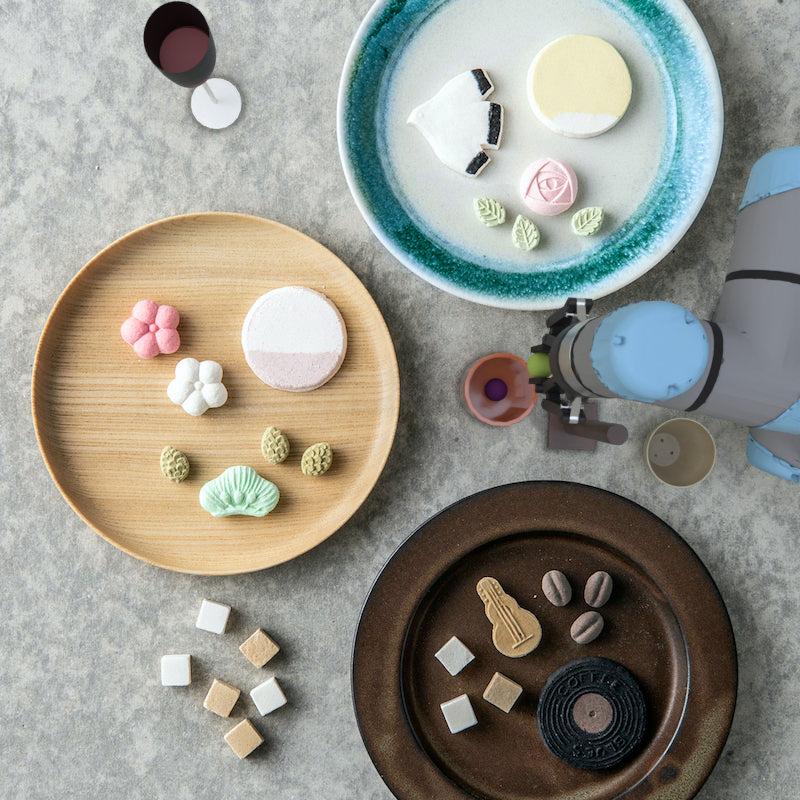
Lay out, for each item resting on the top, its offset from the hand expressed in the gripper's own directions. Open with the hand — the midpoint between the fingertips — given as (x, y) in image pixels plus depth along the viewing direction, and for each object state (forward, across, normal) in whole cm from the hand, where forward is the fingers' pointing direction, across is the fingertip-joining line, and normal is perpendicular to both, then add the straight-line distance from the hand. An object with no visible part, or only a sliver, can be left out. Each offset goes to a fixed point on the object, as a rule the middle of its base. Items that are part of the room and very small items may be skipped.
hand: (540, 366), depth 91 cm
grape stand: (+17, -8, -9) cm, 21 cm away
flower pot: (+17, -11, -23) cm, 31 cm away
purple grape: (+15, -3, +3) cm, 16 cm away
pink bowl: (+17, -3, +3) cm, 18 cm away
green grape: (-1, 0, 0) cm, 1 cm away
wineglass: (+18, +37, +47) cm, 62 cm away
